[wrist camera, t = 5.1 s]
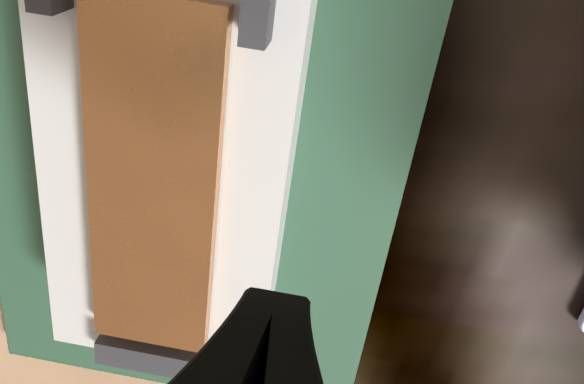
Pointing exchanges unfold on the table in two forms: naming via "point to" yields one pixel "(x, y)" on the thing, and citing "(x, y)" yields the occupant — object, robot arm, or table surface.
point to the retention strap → (153, 162)
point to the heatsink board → (325, 188)
